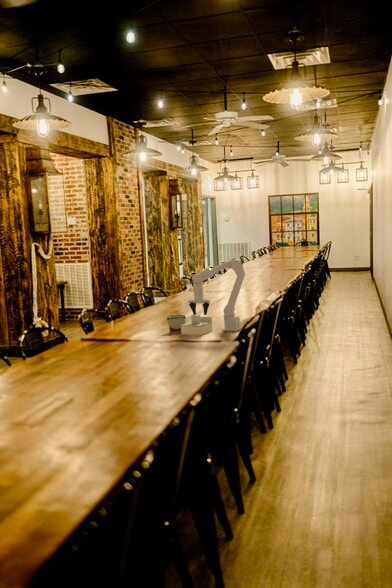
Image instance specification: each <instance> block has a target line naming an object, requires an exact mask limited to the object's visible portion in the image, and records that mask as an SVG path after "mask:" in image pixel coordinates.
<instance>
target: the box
mask: <svg viewBox="0 0 392 588" xmlns="http://www.w3.org/2000/svg"><path fill="white" fill-rule="evenodd" d="M211 332H213V322H212V323H210V324H208V325H206V326H203V327H181V332H180V333H181V336H197V335H198V336H205V335H207V334H209V333H211Z"/></svg>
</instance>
